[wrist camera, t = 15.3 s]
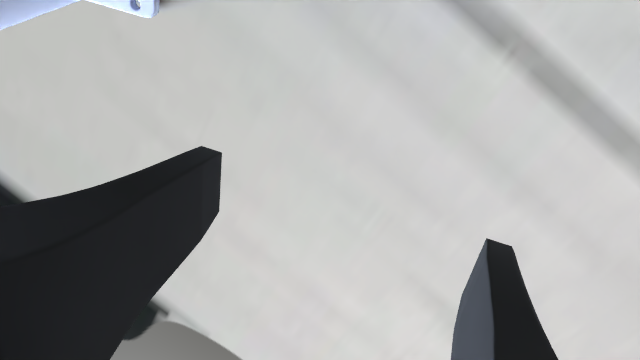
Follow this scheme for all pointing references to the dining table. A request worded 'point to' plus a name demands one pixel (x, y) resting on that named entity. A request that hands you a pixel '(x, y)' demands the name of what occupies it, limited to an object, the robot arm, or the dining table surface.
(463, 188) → the dining table surface
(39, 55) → the dining table surface
